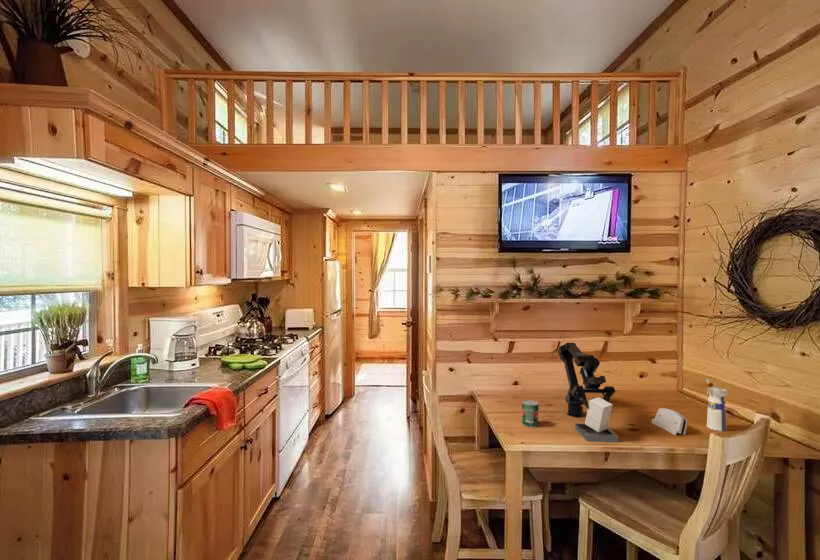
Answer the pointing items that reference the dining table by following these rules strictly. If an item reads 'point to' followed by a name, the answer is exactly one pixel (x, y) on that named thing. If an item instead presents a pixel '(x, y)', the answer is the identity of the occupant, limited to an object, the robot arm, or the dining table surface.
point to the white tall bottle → (716, 408)
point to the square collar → (596, 434)
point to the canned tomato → (530, 413)
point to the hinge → (670, 421)
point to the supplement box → (598, 414)
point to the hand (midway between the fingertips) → (598, 408)
